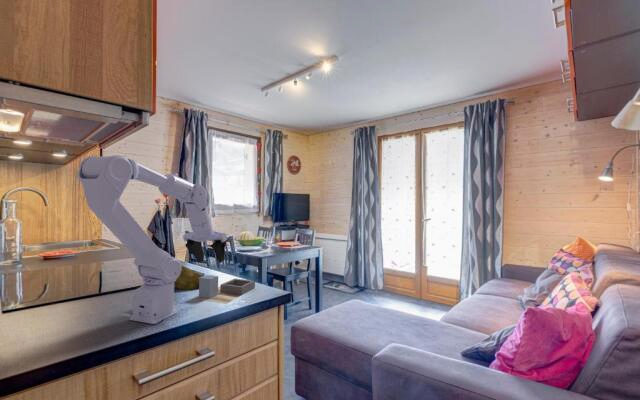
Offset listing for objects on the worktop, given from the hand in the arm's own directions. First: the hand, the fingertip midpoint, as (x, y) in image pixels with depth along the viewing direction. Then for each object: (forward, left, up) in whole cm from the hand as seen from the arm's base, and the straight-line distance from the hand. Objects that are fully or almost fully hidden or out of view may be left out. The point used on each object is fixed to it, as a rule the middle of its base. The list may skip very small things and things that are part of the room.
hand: (211, 260), depth 101 cm
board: (+3, -4, -11) cm, 12 cm away
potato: (+3, +12, -12) cm, 17 cm away
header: (+7, -6, -11) cm, 15 cm away
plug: (-2, -1, -11) cm, 11 cm away
